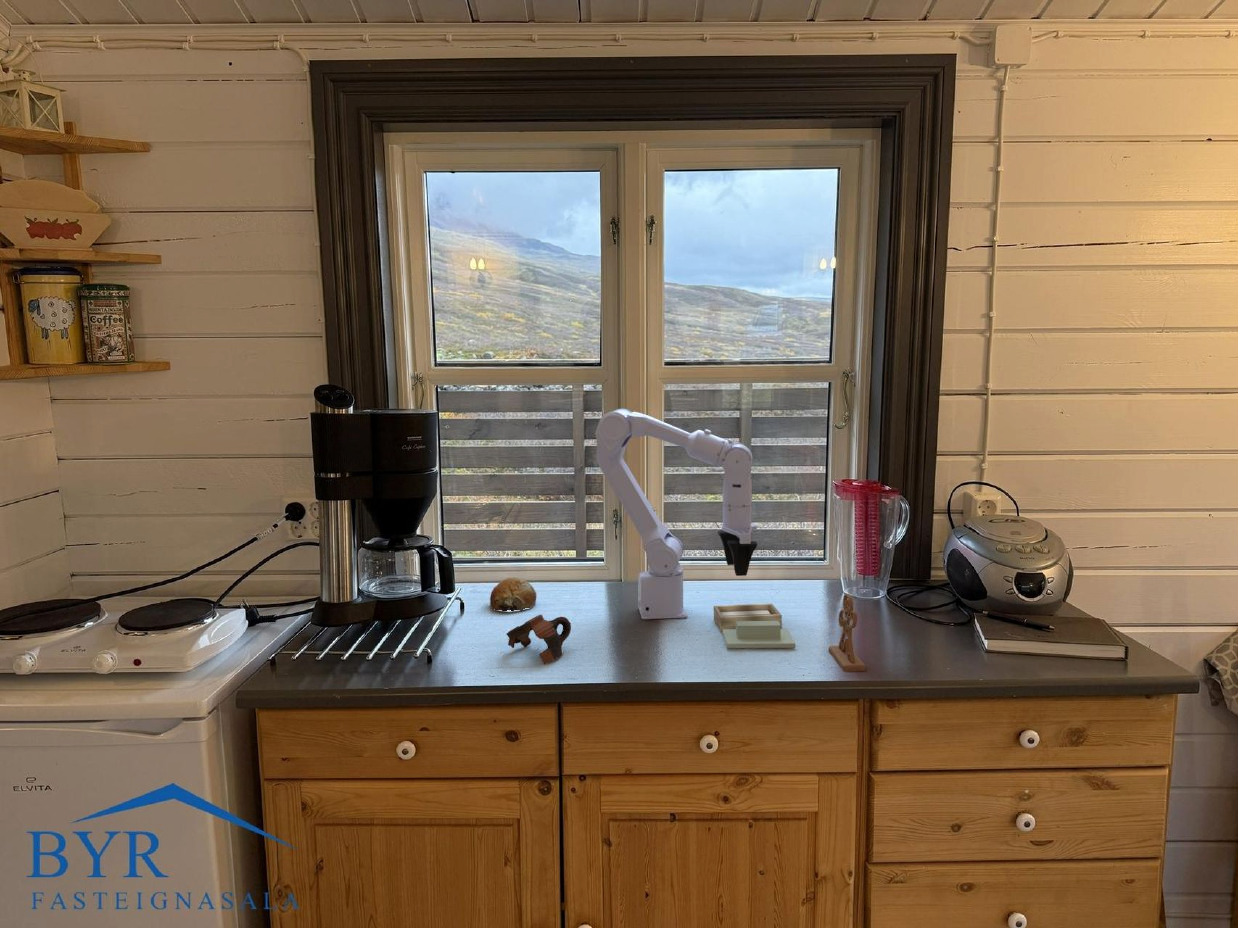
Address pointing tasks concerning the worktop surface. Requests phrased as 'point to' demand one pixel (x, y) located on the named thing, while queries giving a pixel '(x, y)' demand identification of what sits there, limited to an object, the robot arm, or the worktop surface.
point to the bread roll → (513, 595)
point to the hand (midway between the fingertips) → (736, 569)
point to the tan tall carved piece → (847, 640)
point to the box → (744, 614)
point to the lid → (758, 635)
